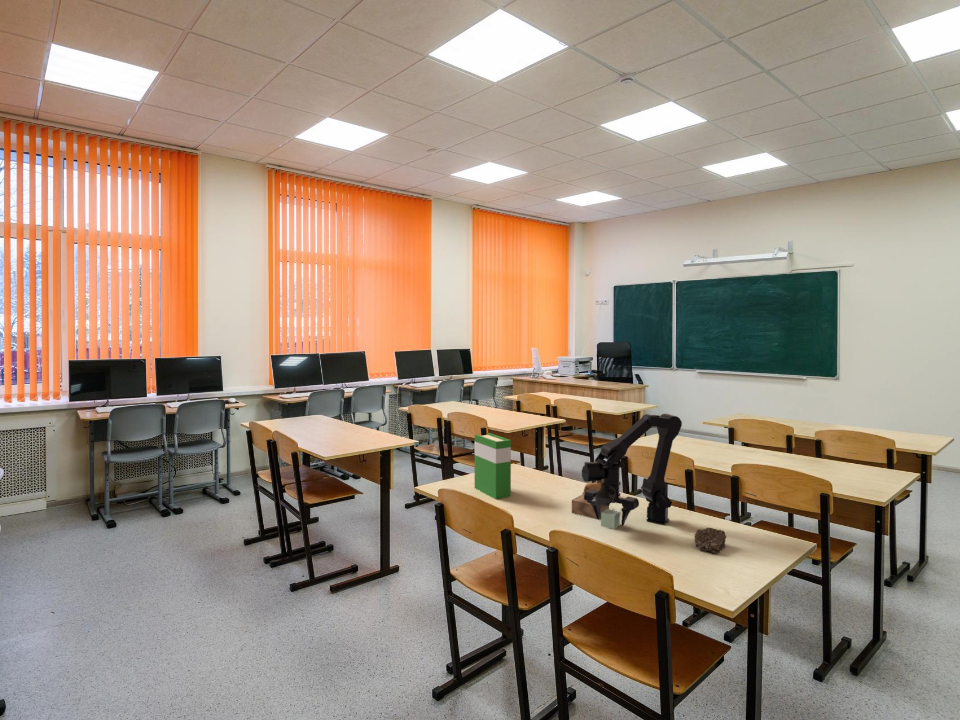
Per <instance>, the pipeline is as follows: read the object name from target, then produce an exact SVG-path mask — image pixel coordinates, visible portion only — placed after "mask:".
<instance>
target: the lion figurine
mask: <svg viewBox="0 0 960 720" xmlns="http://www.w3.org/2000/svg"><path fill="white" fill-rule="evenodd" d="M601 483H603V479H602V480H601V481H594V482H588V483H587V482H586V483H585V485H584V488H583V491H582V493H581V495H582V494H584V493H585V492H586V491H588V490H590V489H594V490H600V488H601Z"/></svg>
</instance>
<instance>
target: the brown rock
mask: <svg viewBox="0 0 960 720" xmlns="http://www.w3.org/2000/svg"><path fill="white" fill-rule="evenodd" d="M693 539H694V543H695V547H696V548H698V550H699V551H700V552H704V553H707V552H709V553H708V554H710V553H712V554H711V555H715V554H716V555H718V554H719V553H721V551H722V550H723V549H724V548H725V547H726V544H725V543H726V540H727V535H726V532H725V531H724V530H721V529H717V528H713V527H705V528H698V529H697V530H696V531H695V534H694V538H693Z"/></svg>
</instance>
